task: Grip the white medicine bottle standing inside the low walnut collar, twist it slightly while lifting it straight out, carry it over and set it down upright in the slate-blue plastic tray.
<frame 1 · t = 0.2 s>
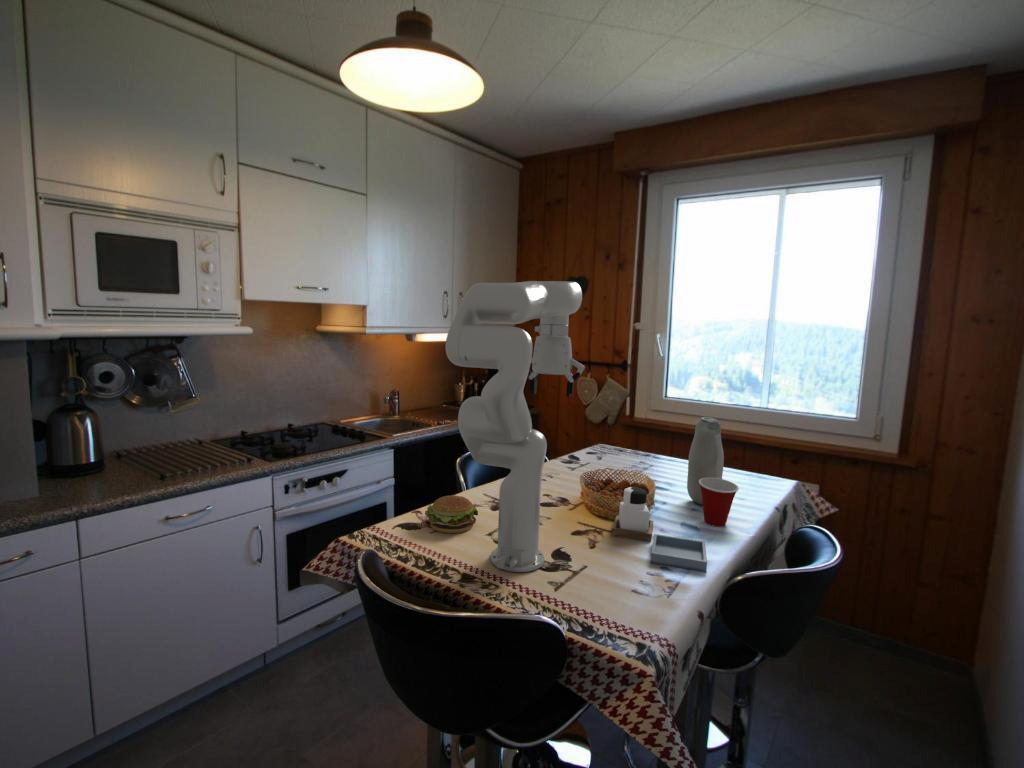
hand: (551, 395, 142), 36 cm above the table, tool pointing down, fingers open, 9 cm apart
tray: (678, 556, 129), on the table
grey bottle: (702, 503, 169), on the table
medicine bottle: (632, 532, 144), resting in collar
plastic cup: (715, 523, 152), on the table
collar: (632, 531, 144), on the table
food: (450, 527, 143), on the table
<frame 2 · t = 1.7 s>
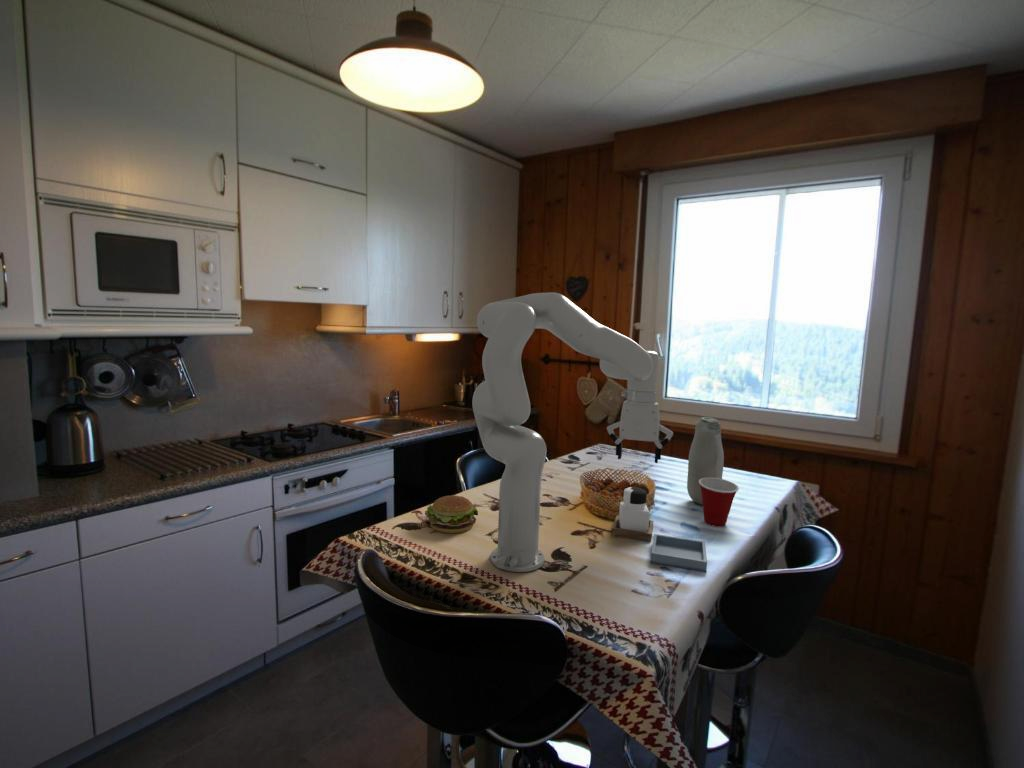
hand: (637, 459, 141), 20 cm above the table, tool pointing down, fingers open, 9 cm apart
nothing on the table moved.
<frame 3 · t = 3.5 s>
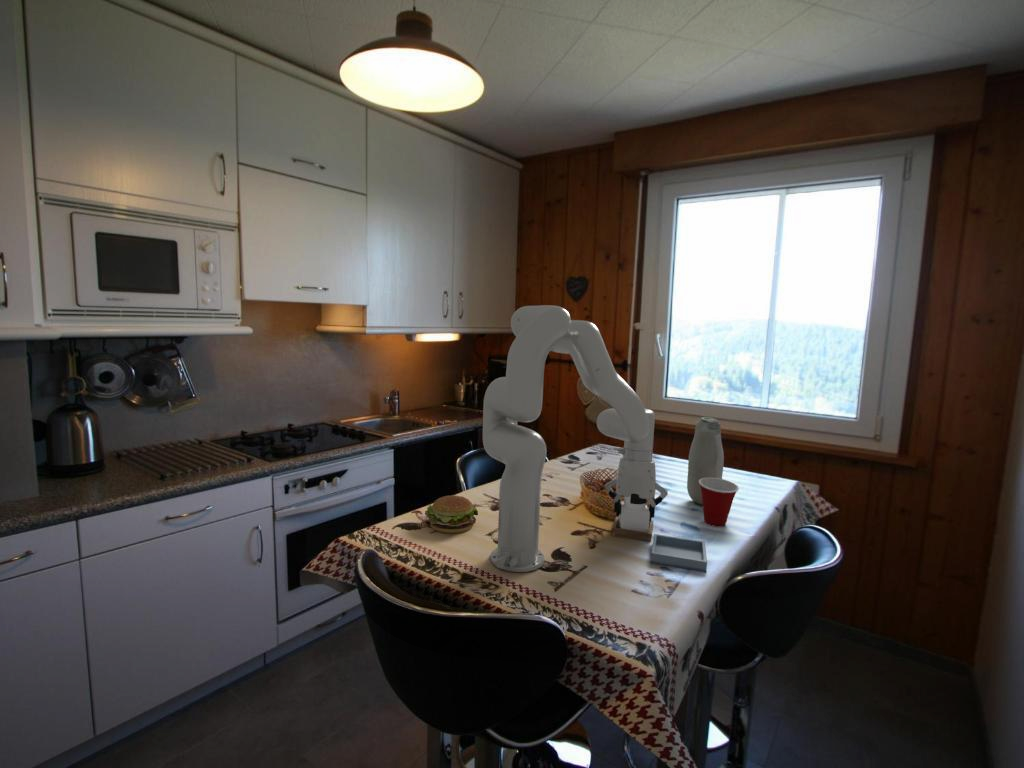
hand: (633, 517, 143), 4 cm above the table, tool pointing down, fingers closed on medicine bottle, 8 cm apart
medicine bottle: (633, 532, 144), resting in collar, touching gripper
everything else where it was.
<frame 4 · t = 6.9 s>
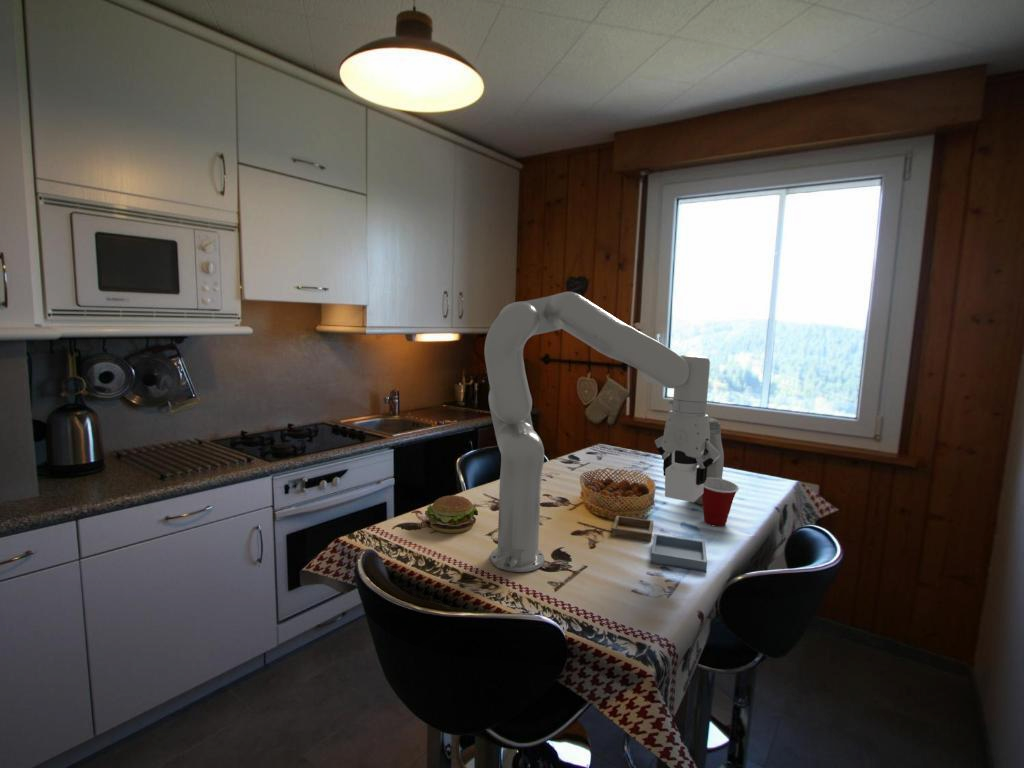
hand: (683, 478, 126), 20 cm above the table, tool pointing down, fingers closed on medicine bottle, 8 cm apart
medicine bottle: (684, 496, 127), point 15 cm above the table, touching gripper
everything else where it was.
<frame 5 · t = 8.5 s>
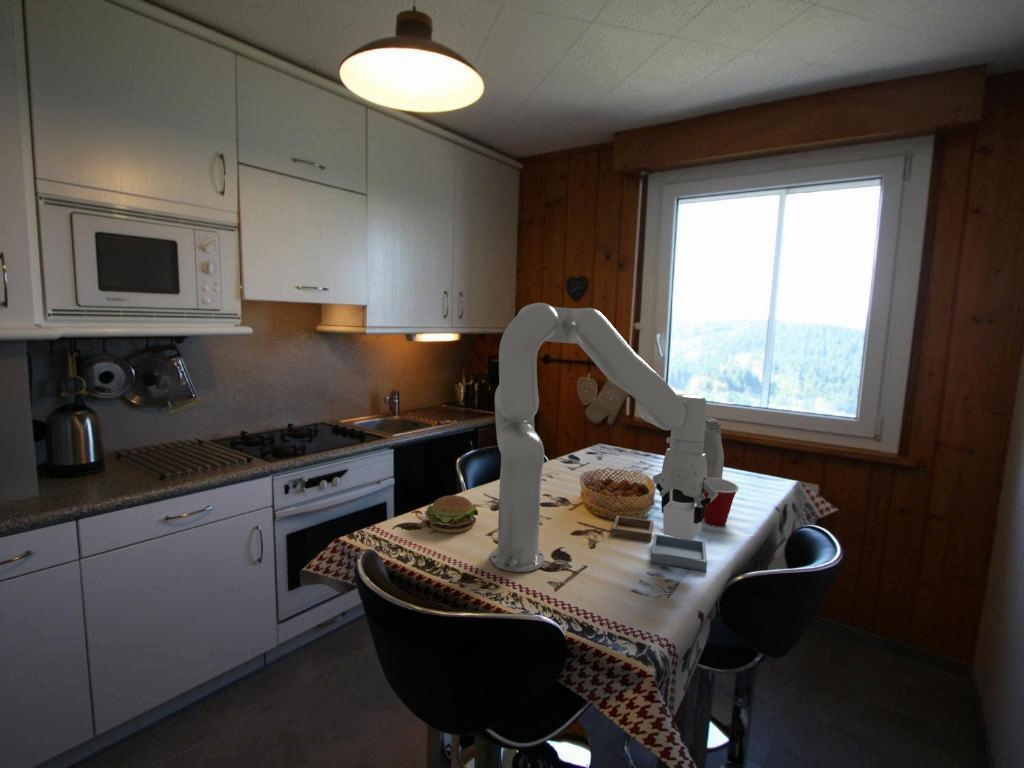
hand: (681, 516, 127), 10 cm above the table, tool pointing down, fingers closed on medicine bottle, 8 cm apart
medicine bottle: (682, 533, 128), point 6 cm above the table, touching gripper
everything else where it was.
when the fingers open (5 cm above the table, at t = 10.1 s): medicine bottle stays where it is, resting on tray.
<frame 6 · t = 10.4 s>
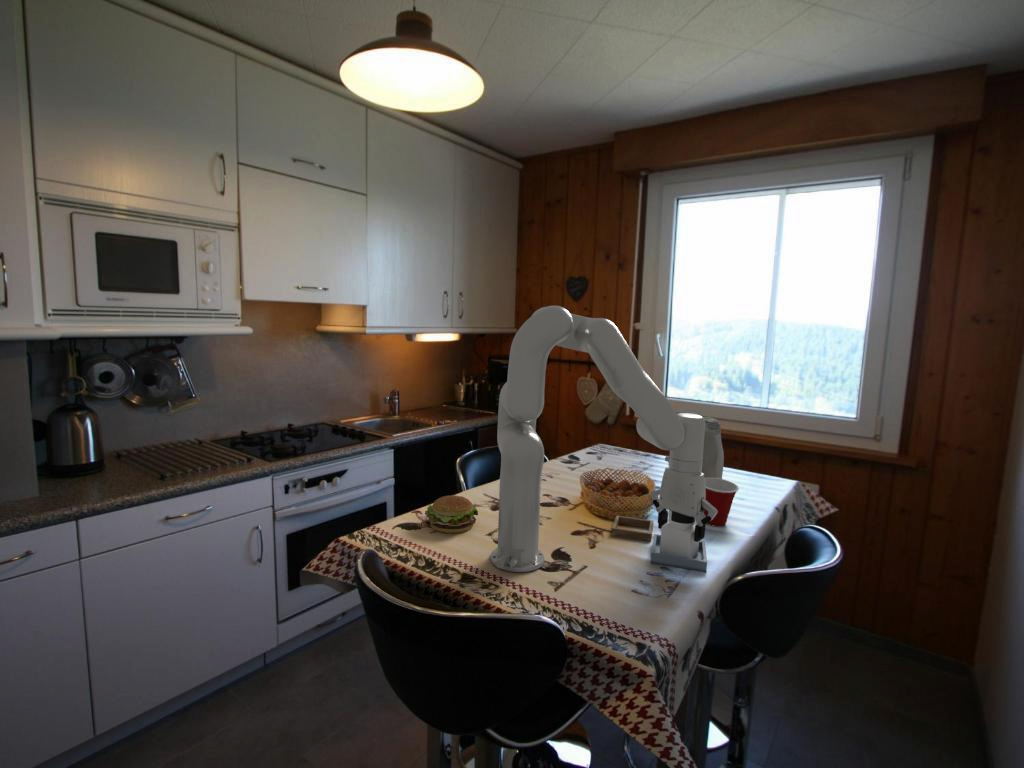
hand: (680, 533, 128), 6 cm above the table, tool pointing down, fingers open, 9 cm apart
medicine bottle: (678, 554, 129), resting on tray
everything else where it was.
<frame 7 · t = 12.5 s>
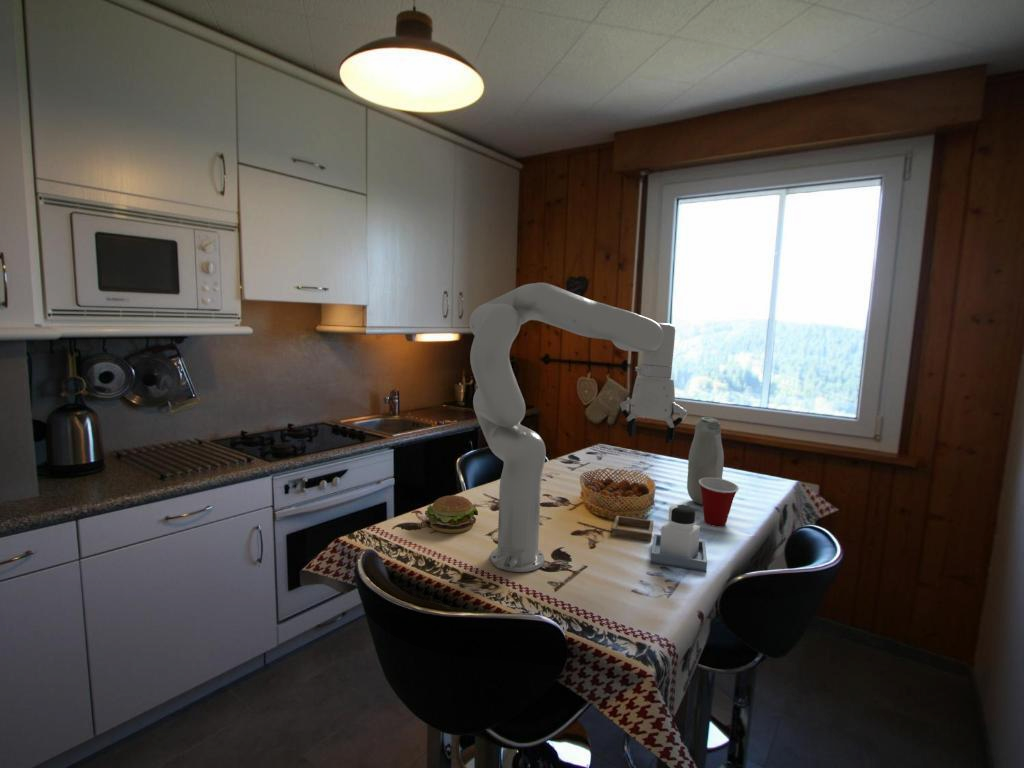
hand: (650, 439, 134), 27 cm above the table, tool pointing down, fingers open, 9 cm apart
nothing on the table moved.
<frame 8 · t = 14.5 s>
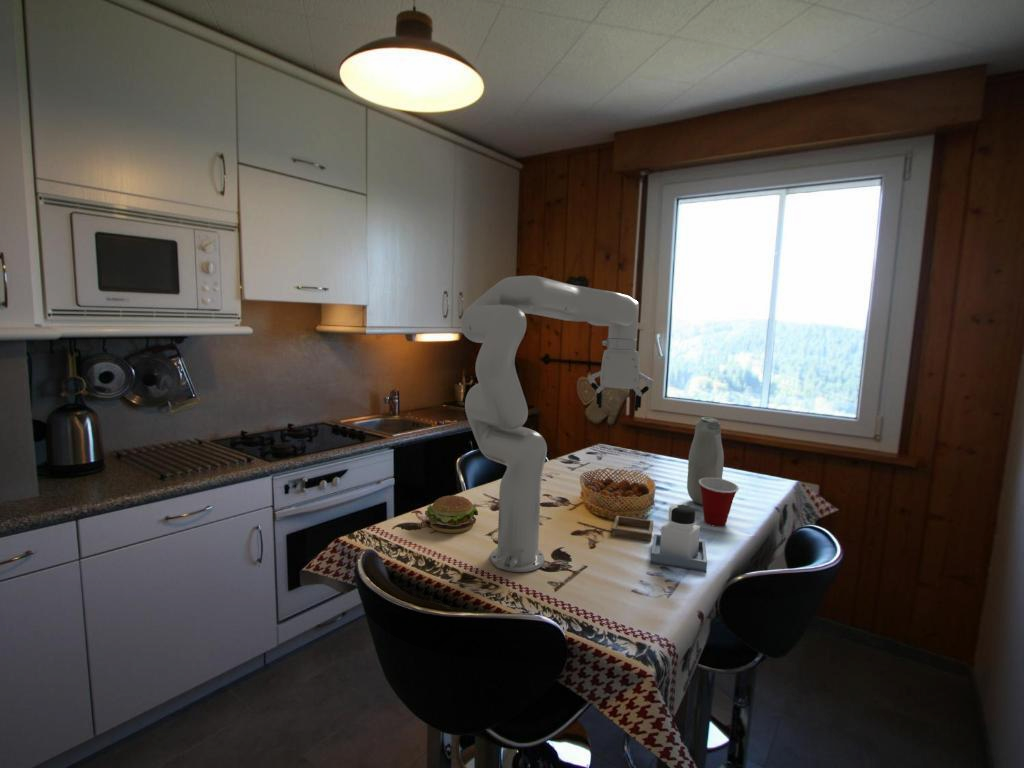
hand: (618, 408, 143), 33 cm above the table, tool pointing down, fingers open, 9 cm apart
nothing on the table moved.
at the end: medicine bottle inside the target area on the tray (0.4 cm from its centre), point 0.4 cm above the tray's base; medicine bottle tilted 0°; the gripper is holding nothing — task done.
